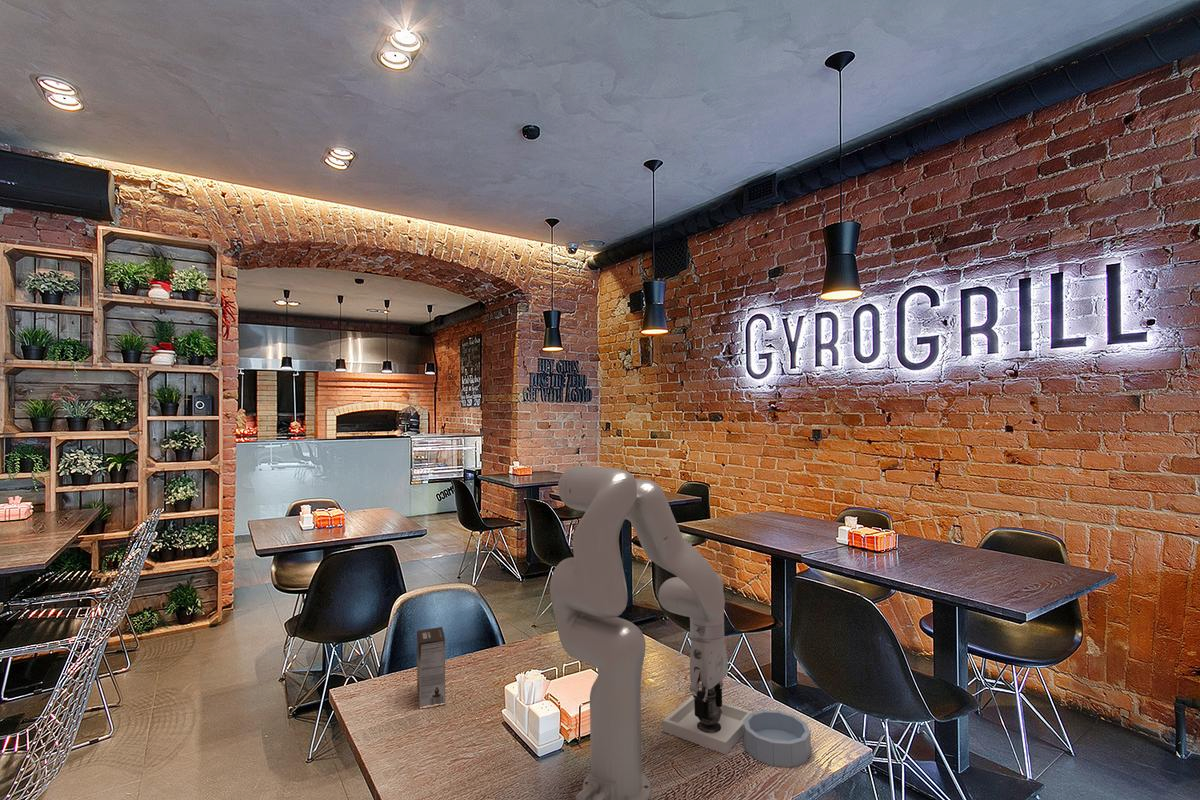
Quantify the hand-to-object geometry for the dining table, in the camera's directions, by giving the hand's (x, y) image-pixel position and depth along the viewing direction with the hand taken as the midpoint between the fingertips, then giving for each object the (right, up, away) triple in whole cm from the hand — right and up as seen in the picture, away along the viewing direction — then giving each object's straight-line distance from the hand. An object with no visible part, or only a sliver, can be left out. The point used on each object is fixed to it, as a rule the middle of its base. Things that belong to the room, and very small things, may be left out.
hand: (708, 710), depth 128 cm
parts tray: (0, -4, 0) cm, 4 cm away
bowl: (+13, -3, -8) cm, 15 cm away
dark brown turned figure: (0, -4, 0) cm, 4 cm away
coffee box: (-66, -5, +15) cm, 68 cm away
